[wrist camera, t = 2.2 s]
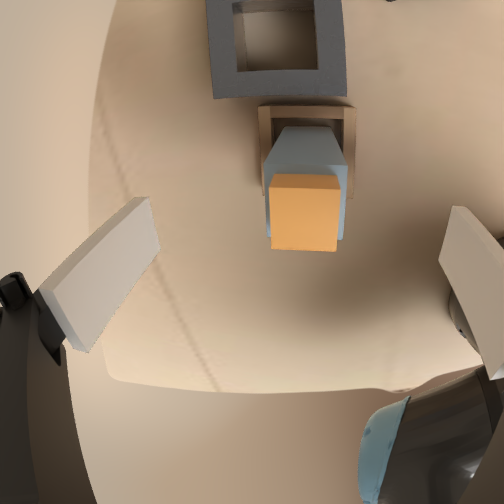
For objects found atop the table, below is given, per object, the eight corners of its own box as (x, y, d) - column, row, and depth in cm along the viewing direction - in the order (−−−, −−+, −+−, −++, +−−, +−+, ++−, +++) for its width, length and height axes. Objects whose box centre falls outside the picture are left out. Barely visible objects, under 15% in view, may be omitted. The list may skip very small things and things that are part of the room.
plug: (329, 169, 26) (345, 261, 13) (286, 168, 27) (261, 257, 14) (330, 126, 24) (353, 179, 11) (284, 126, 25) (256, 176, 12)
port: (341, 94, 22) (346, 96, 19) (227, 96, 24) (213, 99, 21) (334, -8, 17) (338, -22, 13) (219, -2, 19) (204, -14, 15)
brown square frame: (349, 190, 27) (352, 198, 25) (265, 188, 28) (262, 195, 26) (352, 106, 22) (356, 108, 21) (261, 104, 24) (257, 106, 22)
